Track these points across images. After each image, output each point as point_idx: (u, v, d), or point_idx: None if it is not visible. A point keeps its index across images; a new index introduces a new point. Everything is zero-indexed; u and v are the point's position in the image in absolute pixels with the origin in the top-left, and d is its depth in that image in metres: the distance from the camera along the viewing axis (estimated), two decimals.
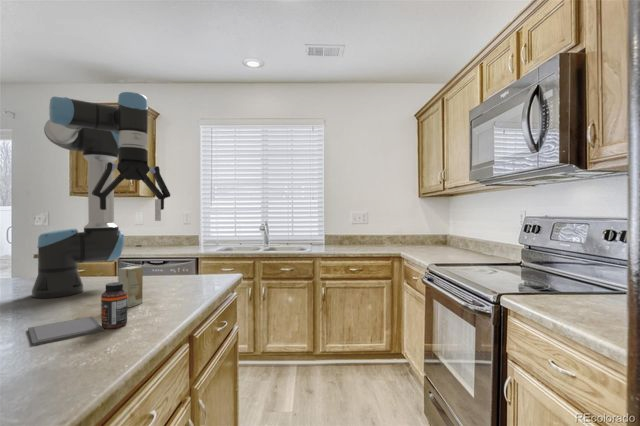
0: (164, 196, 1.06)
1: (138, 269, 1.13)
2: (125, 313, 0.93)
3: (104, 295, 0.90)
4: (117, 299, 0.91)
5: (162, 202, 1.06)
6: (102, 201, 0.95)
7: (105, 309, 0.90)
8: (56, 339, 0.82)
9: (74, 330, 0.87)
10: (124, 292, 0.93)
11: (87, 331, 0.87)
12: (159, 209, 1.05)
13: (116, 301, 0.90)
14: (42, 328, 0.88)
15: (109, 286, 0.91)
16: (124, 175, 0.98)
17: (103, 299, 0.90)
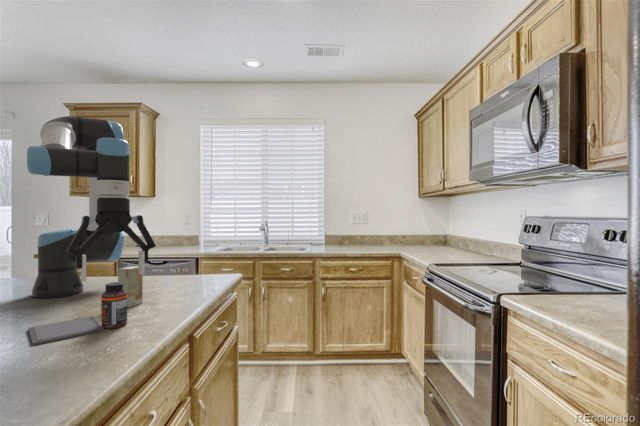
0: (148, 247, 0.97)
1: (138, 269, 1.13)
2: (125, 313, 0.93)
3: (104, 295, 0.90)
4: (117, 299, 0.91)
5: (146, 254, 0.98)
6: (78, 259, 0.87)
7: (105, 309, 0.90)
8: (56, 339, 0.82)
9: (74, 330, 0.87)
10: (124, 292, 0.93)
11: (87, 331, 0.87)
12: (143, 262, 0.96)
13: (116, 301, 0.90)
14: (42, 328, 0.88)
15: (109, 286, 0.91)
16: (103, 228, 0.90)
17: (103, 299, 0.90)
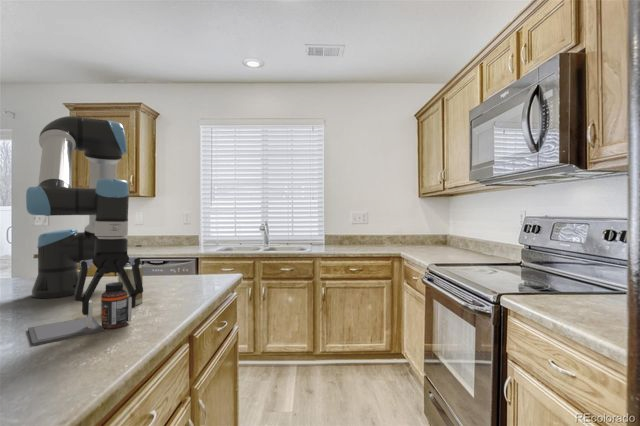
0: (136, 293, 0.95)
1: None
2: (125, 313, 0.93)
3: (104, 295, 0.90)
4: (117, 299, 0.91)
5: (133, 299, 0.96)
6: (84, 306, 0.88)
7: (105, 309, 0.90)
8: (56, 339, 0.82)
9: (74, 330, 0.87)
10: (124, 292, 0.93)
11: (87, 331, 0.87)
12: (129, 308, 0.94)
13: (116, 301, 0.90)
14: (42, 328, 0.88)
15: (109, 286, 0.91)
16: (102, 271, 0.90)
17: (103, 299, 0.90)
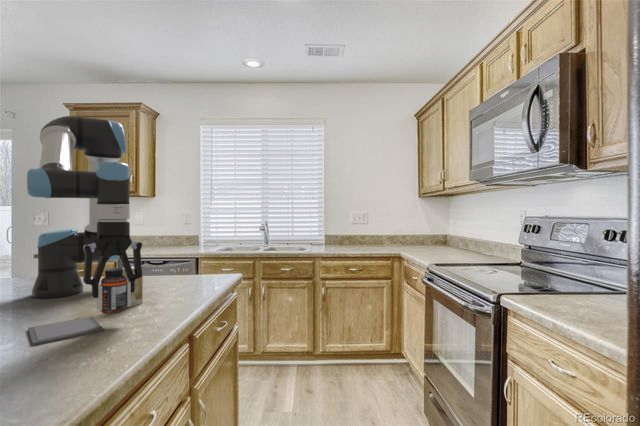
0: (135, 278, 0.95)
1: None
2: (124, 298, 0.93)
3: (104, 280, 0.90)
4: (117, 284, 0.91)
5: (132, 284, 0.96)
6: (94, 289, 0.90)
7: (105, 294, 0.90)
8: (56, 339, 0.82)
9: (74, 330, 0.87)
10: (124, 278, 0.93)
11: (87, 331, 0.87)
12: (129, 293, 0.95)
13: (115, 286, 0.91)
14: (42, 328, 0.88)
15: (109, 271, 0.91)
16: (106, 254, 0.90)
17: (103, 284, 0.90)
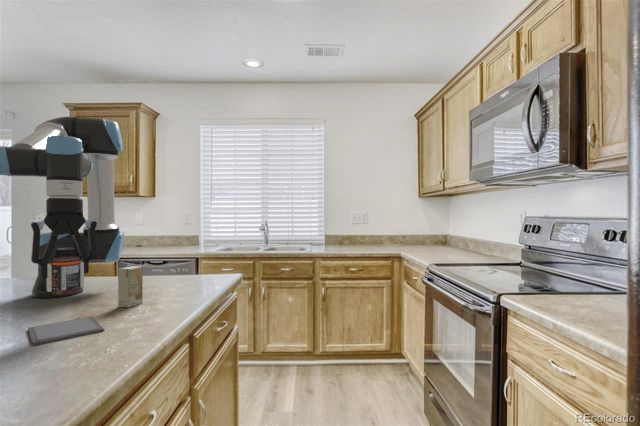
0: (88, 259, 0.91)
1: (138, 269, 1.13)
2: (77, 279, 0.89)
3: (54, 259, 0.86)
4: (67, 264, 0.87)
5: (86, 265, 0.92)
6: (43, 268, 0.85)
7: (54, 274, 0.86)
8: (56, 339, 0.82)
9: (74, 330, 0.87)
10: (76, 257, 0.89)
11: (87, 331, 0.87)
12: (82, 274, 0.90)
13: (66, 266, 0.87)
14: (42, 328, 0.88)
15: (59, 250, 0.87)
16: (56, 232, 0.86)
17: (52, 264, 0.86)
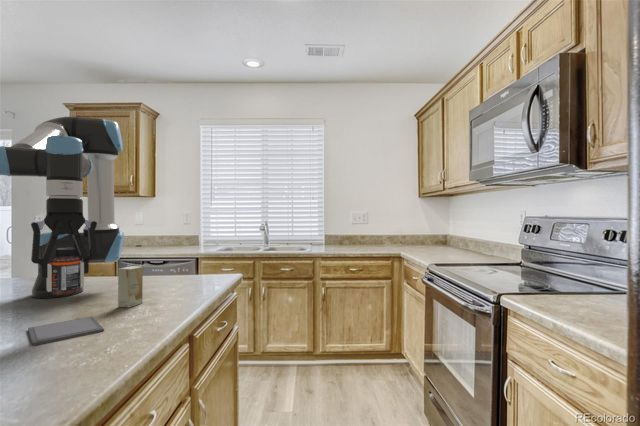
0: (88, 259, 0.91)
1: (138, 269, 1.13)
2: (77, 279, 0.89)
3: (54, 259, 0.86)
4: (67, 264, 0.87)
5: (86, 265, 0.92)
6: (43, 269, 0.85)
7: (54, 274, 0.86)
8: (56, 339, 0.82)
9: (74, 330, 0.87)
10: (76, 257, 0.89)
11: (87, 331, 0.87)
12: (82, 274, 0.90)
13: (66, 266, 0.87)
14: (42, 328, 0.88)
15: (59, 250, 0.87)
16: (56, 232, 0.86)
17: (52, 264, 0.86)
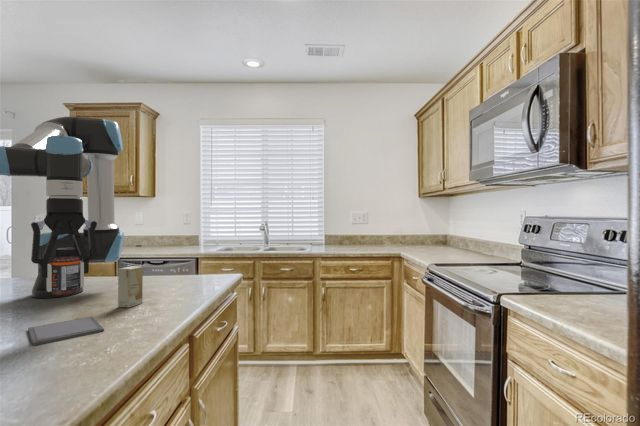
0: (88, 259, 0.91)
1: (138, 269, 1.13)
2: (77, 279, 0.89)
3: (54, 259, 0.86)
4: (67, 264, 0.87)
5: (86, 265, 0.92)
6: (43, 269, 0.85)
7: (54, 274, 0.86)
8: (56, 339, 0.82)
9: (74, 330, 0.87)
10: (76, 257, 0.89)
11: (87, 331, 0.87)
12: (82, 274, 0.90)
13: (66, 266, 0.87)
14: (42, 328, 0.88)
15: (59, 250, 0.87)
16: (56, 232, 0.86)
17: (52, 264, 0.86)
